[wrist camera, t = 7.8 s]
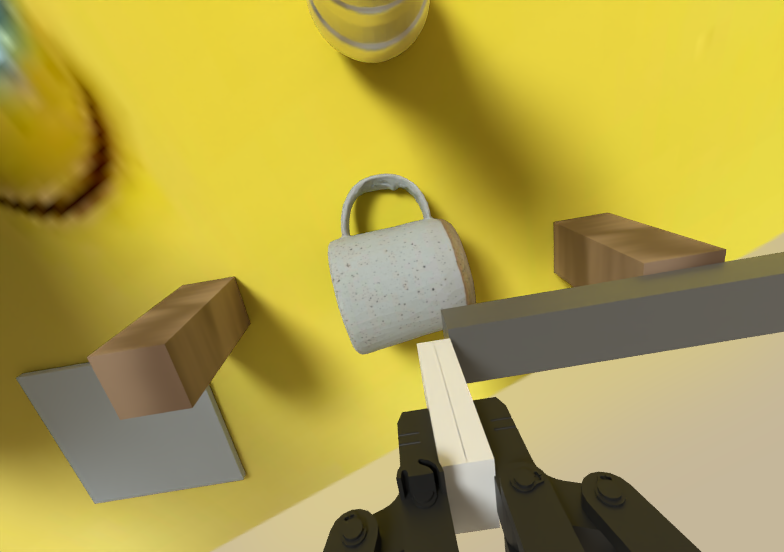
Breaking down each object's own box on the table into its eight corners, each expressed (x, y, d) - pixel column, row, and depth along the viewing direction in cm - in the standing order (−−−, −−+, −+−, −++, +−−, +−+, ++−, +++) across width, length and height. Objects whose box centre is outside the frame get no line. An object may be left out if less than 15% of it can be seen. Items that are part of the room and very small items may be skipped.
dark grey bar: (447, 361, 19) (454, 385, 17) (440, 309, 18) (447, 329, 16) (875, 290, 19) (931, 307, 17) (893, 233, 18) (955, 244, 16)
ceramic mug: (462, 294, 29) (491, 343, 21) (362, 321, 29) (357, 379, 22) (429, 157, 25) (450, 161, 18) (316, 191, 26) (293, 208, 18)
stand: (200, 332, 29) (120, 420, 20) (182, 285, 27) (86, 357, 18) (605, 263, 28) (714, 322, 19) (607, 212, 27) (726, 249, 18)
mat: (99, 497, 34) (94, 503, 34) (22, 373, 29) (15, 378, 29) (245, 474, 34) (243, 479, 34) (192, 344, 29) (189, 348, 29)
